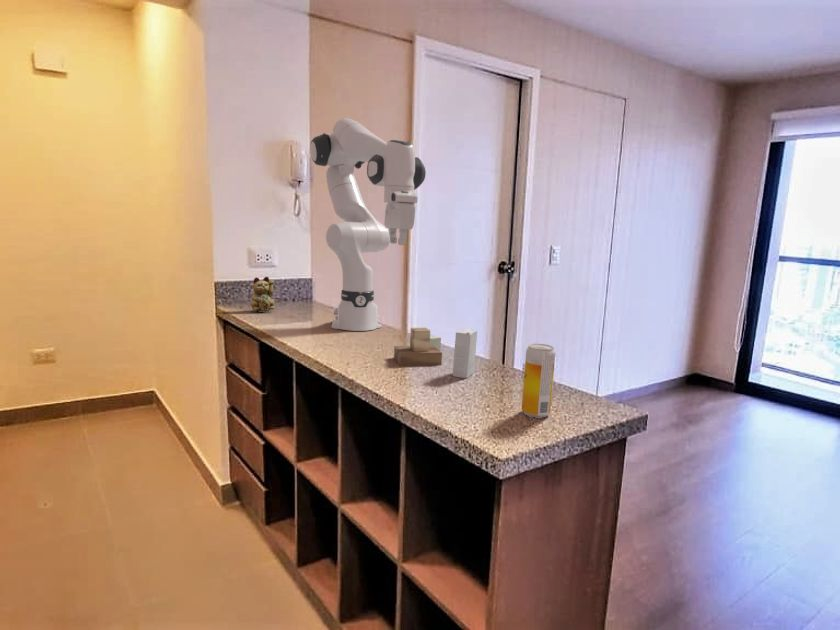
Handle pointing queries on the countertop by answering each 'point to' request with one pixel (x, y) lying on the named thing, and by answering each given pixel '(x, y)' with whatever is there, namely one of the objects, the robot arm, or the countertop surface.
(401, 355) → the walnut block
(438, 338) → the sage cube
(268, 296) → the decorative figurine
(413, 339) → the oak block
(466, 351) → the skincare box
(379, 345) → the countertop surface
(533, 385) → the beer can
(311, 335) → the countertop surface
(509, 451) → the countertop surface
